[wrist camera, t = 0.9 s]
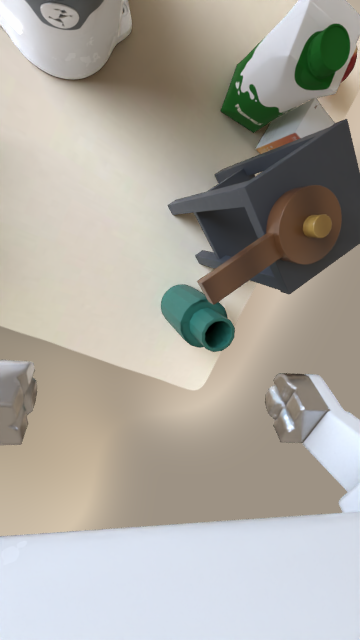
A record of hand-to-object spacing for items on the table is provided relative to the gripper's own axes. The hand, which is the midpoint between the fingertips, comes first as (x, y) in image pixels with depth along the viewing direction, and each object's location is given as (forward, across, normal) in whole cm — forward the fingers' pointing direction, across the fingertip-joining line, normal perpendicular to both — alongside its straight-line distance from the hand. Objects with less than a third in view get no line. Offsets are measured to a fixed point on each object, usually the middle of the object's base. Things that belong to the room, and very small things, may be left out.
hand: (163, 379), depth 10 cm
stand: (+45, -13, +7) cm, 47 cm away
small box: (+51, -24, -5) cm, 57 cm away
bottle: (+39, -10, +22) cm, 46 cm away
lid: (+19, -12, +2) cm, 22 cm away
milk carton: (+52, -16, -11) cm, 56 cm away
